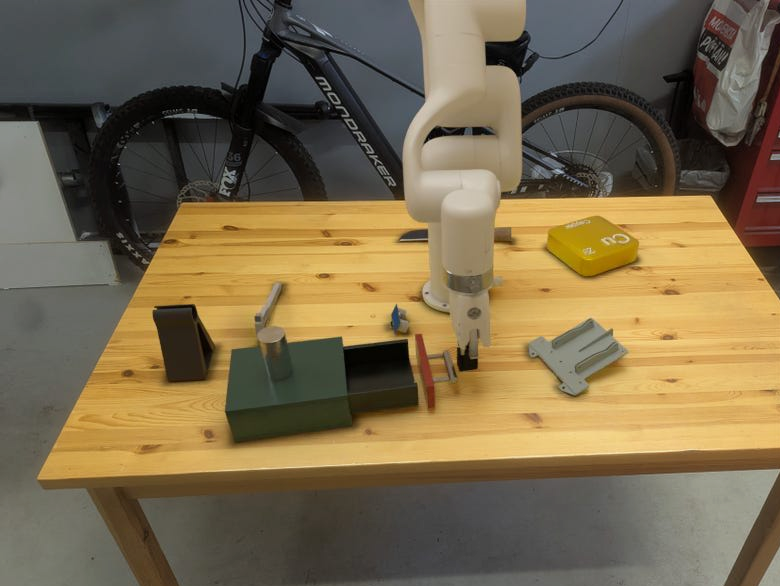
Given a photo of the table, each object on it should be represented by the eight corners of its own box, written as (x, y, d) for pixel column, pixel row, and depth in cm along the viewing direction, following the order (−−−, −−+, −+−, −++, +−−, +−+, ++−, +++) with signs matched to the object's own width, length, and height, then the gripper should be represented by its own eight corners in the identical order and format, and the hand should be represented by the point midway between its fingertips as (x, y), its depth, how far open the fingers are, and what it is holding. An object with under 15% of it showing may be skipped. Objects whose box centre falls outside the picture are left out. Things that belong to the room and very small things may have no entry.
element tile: (596, 230, 152) (599, 211, 149) (640, 260, 142) (644, 240, 139) (542, 247, 146) (544, 227, 143) (584, 279, 136) (587, 259, 133)
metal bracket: (588, 301, 120) (639, 348, 109) (591, 324, 124) (641, 371, 114) (520, 340, 117) (567, 392, 107) (526, 361, 121) (572, 413, 111)
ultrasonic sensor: (402, 339, 121) (410, 325, 120) (391, 336, 120) (398, 322, 119) (399, 320, 126) (406, 306, 124) (387, 317, 125) (394, 303, 123)
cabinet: (346, 366, 114) (341, 336, 110) (352, 426, 103) (347, 395, 99) (240, 379, 111) (231, 349, 107) (234, 442, 100) (224, 411, 96)
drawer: (447, 352, 116) (446, 330, 113) (461, 404, 106) (461, 381, 103) (326, 367, 112) (322, 345, 109) (329, 422, 102) (325, 399, 99)
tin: (293, 362, 104) (285, 324, 100) (293, 379, 101) (284, 340, 97) (267, 365, 104) (257, 327, 99) (266, 382, 101) (256, 343, 96)
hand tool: (399, 224, 149) (510, 220, 148) (401, 236, 151) (511, 232, 150) (397, 235, 145) (511, 231, 144) (399, 248, 147) (511, 244, 146)
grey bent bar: (266, 349, 117) (259, 320, 113) (259, 349, 117) (252, 320, 113) (282, 285, 133) (277, 257, 129) (277, 285, 133) (271, 258, 129)
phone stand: (205, 380, 111) (185, 322, 103) (168, 382, 110) (145, 324, 102) (215, 346, 118) (198, 290, 110) (180, 348, 117) (160, 292, 109)
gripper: (504, 298, 93) (500, 394, 105) (481, 246, 105) (479, 338, 116) (452, 305, 92) (453, 401, 104) (434, 251, 103) (437, 343, 115)
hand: (467, 367), depth 110 cm, fingers closed
